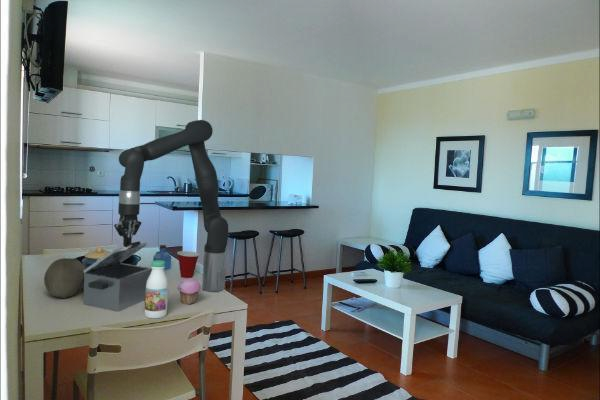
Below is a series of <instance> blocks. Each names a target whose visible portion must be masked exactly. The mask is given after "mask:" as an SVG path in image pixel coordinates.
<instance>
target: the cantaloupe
mask: <svg viewBox="0 0 600 400" xmlns="http://www.w3.org/2000/svg"><path fill="white" fill-rule="evenodd" d="M84 270H85V267H84V265H83V262H82V261H79V260H78V259H75V258H71V257H70V258H67V257H65V258H58V259H56V260H54V261H52V263H51V264H50V265H49V267H48V268H47V269H46V271H45V273H44V277H43V281H44V282H43V283H44V287H45V289H46V291H47V292H48V294H50V295H51V296H53V297H56V298H60V299H66V298H67V299H68V297H71V296H73V295H75V294H76V293H77V292H78V291H79V290H80V289H82V284H83V283H84Z"/></svg>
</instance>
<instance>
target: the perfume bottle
mask: <svg viewBox="0 0 600 400" xmlns="http://www.w3.org/2000/svg"><path fill="white" fill-rule="evenodd" d="M158 250H159V251H156V253H155V254H154V255H152V257H153V258H152V261H155V260H162V261H165V268H164V271H166V270H171V268H172V266H171V265H172V255H171V254H170V252H169V251H167V245H165V244H160V245H159V248H158Z"/></svg>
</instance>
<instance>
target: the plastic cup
mask: <svg viewBox="0 0 600 400" xmlns="http://www.w3.org/2000/svg"><path fill="white" fill-rule="evenodd" d="M200 256H201V254H200V253H199V252H196V251H195V252H194V251H186V250H183V251H182V250H181V251H177V259H178V265H179V275H180V277H181V278H183V279H186V278H193V277H194V275H195V271H196V266H197V262H198V259H199V257H200Z"/></svg>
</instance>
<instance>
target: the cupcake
mask: <svg viewBox="0 0 600 400" xmlns="http://www.w3.org/2000/svg"><path fill="white" fill-rule="evenodd" d="M201 289H202V284H201V283H200V282H199V281H198V280H197V279H196V278H193V277H192V278H183V280H181V281H180V283H179V284H178V285H177V290H178V292H179V295H180V297H179V299H180V303H182V304H184V305H191V304H194V303H195V302H196V301H197V298H198V295H199V293H200V291H201Z"/></svg>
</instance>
